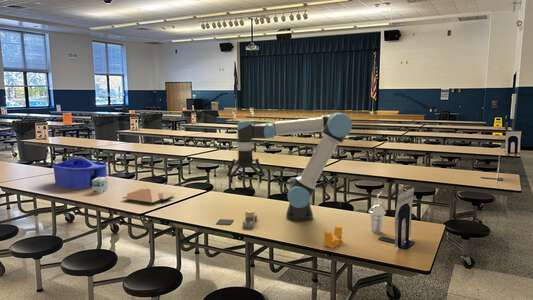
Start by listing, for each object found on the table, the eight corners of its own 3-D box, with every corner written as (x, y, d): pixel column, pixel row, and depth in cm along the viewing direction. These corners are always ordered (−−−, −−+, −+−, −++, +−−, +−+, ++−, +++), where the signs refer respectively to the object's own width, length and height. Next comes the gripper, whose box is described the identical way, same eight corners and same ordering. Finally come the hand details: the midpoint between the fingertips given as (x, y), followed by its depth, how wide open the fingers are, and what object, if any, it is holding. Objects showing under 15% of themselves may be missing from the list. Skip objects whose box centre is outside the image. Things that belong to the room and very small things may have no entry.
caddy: (82, 179, 320) (80, 152, 317) (117, 184, 298) (115, 155, 295) (45, 186, 293) (42, 156, 290) (80, 193, 271) (78, 161, 268)
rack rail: (257, 219, 210) (257, 212, 210) (252, 228, 194) (252, 221, 194) (248, 218, 211) (248, 212, 210) (242, 228, 195) (242, 221, 195)
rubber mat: (233, 220, 208) (233, 219, 208) (230, 225, 200) (230, 224, 200) (219, 219, 209) (219, 219, 209) (215, 224, 201) (215, 223, 201)
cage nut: (255, 222, 205) (255, 209, 204) (253, 225, 200) (253, 212, 199) (247, 221, 206) (247, 209, 205) (245, 225, 200) (245, 212, 199)
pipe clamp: (332, 248, 169) (333, 234, 168) (324, 245, 172) (324, 232, 171) (344, 240, 179) (345, 227, 178) (336, 238, 181) (337, 225, 180)
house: (155, 207, 234) (155, 195, 233) (116, 201, 248) (116, 189, 247) (178, 199, 255) (178, 187, 254) (141, 194, 269) (141, 183, 268)
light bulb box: (101, 194, 266) (100, 179, 264) (92, 194, 266) (91, 179, 264) (108, 191, 276) (107, 176, 275) (99, 191, 276) (98, 176, 275)
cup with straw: (364, 229, 193) (365, 191, 191) (378, 227, 197) (379, 190, 194) (375, 235, 185) (376, 195, 183) (389, 232, 189) (391, 193, 186)
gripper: (269, 148, 201) (269, 187, 204) (223, 149, 203) (224, 187, 205) (268, 150, 193) (269, 190, 196) (220, 151, 195) (222, 190, 198)
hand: (246, 189), depth 201 cm, fingers open, 13 cm apart
